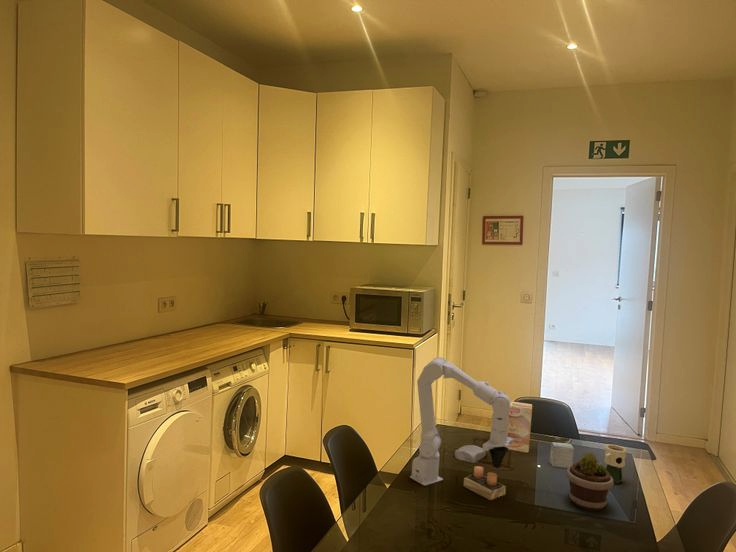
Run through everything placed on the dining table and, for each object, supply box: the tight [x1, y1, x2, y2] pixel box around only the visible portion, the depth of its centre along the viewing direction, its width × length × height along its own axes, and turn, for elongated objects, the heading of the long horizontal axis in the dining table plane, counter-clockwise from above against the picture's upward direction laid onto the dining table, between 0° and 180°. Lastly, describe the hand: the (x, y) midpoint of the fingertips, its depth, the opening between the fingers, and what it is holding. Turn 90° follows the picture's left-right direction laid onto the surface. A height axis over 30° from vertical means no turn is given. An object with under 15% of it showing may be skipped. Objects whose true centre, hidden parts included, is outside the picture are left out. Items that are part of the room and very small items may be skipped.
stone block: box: [454, 444, 487, 464], centre depth 216 cm, size 12×5×10 cm
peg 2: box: [486, 472, 498, 486], centre depth 182 cm, size 3×3×3 cm
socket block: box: [463, 473, 507, 501], centre depth 185 cm, size 8×12×4 cm, turn 37°
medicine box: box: [549, 441, 575, 469], centre depth 212 cm, size 8×4×9 cm, turn 84°
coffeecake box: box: [507, 400, 533, 453], centre depth 229 cm, size 15×7×20 cm, turn 73°
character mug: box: [604, 444, 627, 484], centre depth 200 cm, size 11×7×13 cm, turn 120°
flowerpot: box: [565, 451, 615, 512], centre depth 179 cm, size 14×15×20 cm
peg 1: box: [473, 465, 484, 479], centre depth 187 cm, size 3×3×3 cm
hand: (496, 467), depth 184 cm, fingers closed
